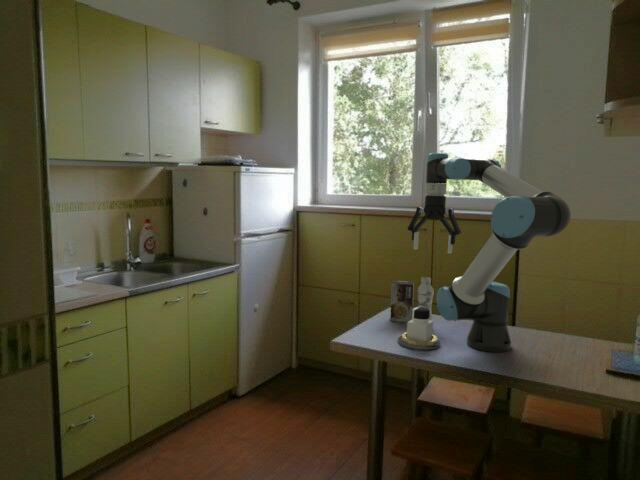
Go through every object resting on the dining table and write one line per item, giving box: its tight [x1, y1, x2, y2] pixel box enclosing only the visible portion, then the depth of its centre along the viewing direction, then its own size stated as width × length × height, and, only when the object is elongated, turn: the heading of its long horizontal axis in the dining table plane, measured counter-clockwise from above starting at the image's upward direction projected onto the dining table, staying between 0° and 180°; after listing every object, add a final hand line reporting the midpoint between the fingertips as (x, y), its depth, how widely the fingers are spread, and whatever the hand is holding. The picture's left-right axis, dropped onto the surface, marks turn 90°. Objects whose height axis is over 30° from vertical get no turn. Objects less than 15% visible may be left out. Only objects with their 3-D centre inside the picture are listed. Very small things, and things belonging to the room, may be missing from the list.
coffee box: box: [389, 279, 415, 323], centre depth 205 cm, size 9×6×16 cm
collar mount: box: [397, 331, 441, 352], centre depth 177 cm, size 15×15×2 cm
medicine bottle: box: [406, 306, 434, 341], centre depth 176 cm, size 7×7×12 cm
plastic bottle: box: [416, 276, 435, 321], centre depth 195 cm, size 6×7×20 cm
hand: (432, 251), depth 186 cm, fingers open, 13 cm apart
